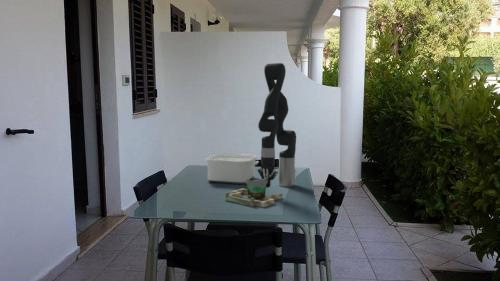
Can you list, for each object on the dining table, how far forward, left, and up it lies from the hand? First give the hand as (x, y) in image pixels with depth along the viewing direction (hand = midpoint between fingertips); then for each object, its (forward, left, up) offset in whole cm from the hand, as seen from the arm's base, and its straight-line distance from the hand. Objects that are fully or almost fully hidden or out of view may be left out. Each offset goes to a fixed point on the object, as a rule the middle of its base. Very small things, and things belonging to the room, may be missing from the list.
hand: (267, 187), depth 249 cm
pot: (-17, -43, -5) cm, 46 cm away
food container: (+8, 0, -5) cm, 9 cm away
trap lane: (+11, 0, -5) cm, 12 cm away
